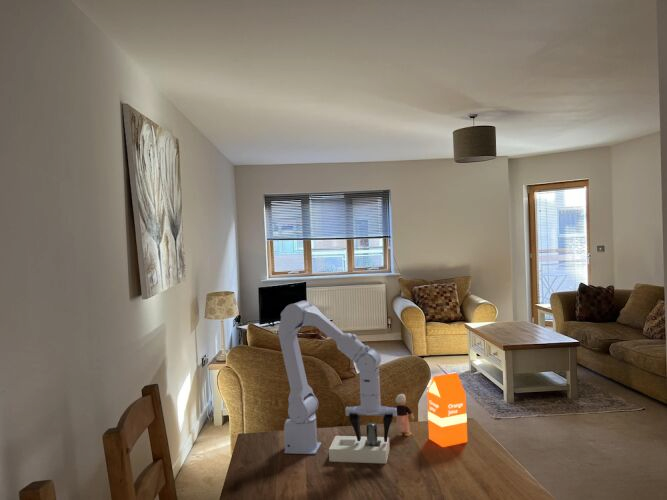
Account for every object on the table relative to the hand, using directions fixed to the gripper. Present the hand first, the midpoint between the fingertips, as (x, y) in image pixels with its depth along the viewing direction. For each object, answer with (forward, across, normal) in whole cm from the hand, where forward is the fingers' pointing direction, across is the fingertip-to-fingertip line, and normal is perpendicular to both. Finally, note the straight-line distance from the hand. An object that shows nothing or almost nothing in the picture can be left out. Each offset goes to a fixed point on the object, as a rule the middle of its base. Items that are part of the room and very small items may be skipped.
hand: (372, 440), depth 150 cm
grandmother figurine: (+5, +7, +17) cm, 19 cm away
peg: (+4, 0, 0) cm, 4 cm away
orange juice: (+5, +21, +13) cm, 25 cm away
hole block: (+4, -4, 0) cm, 6 cm away
